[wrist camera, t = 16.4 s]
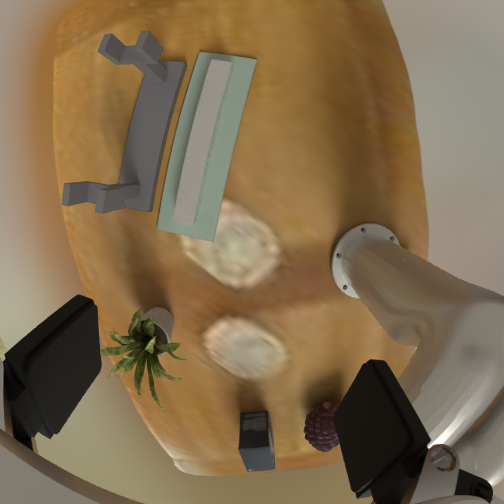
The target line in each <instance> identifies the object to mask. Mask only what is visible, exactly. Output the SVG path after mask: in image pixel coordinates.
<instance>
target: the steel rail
mask: <svg viewBox="0 0 504 504" xmlns="http://www.w3.org/2000/svg"><path fill="white" fill-rule="evenodd" d="M233 71H234V68H233V64H232V62H228V61H220V60H211V62H210V65H209V69H208V72H207V75H206V78H205V82H204V85H203V89H202V92H201V96H200V99H199V103H198V106H197V110H196V114H195V118H194V122H193V126H192V130H191V134H190V138H189V142H188V146H187V151H186V155H185V159H184V164H183V169H182V174H181V178H180V183H179V189H178V194H177V199H176V205H175V210H174V216H173V221H176V222H180V223H185V224H190V225H194V224H195V223H197V222H198V216H199V211H200V206H201V201H202V196H203V191H204V187H205V182H206V177H207V173H208V168H209V164H210V159H211V155H212V151H213V146H214V142H215V138H216V134H217V130H218V126H219V122H220V118H221V114H222V110H223V106H224V103H225V99H226V95H227V92H228V88H229V85H230V81H231V78H232V74H233Z"/></svg>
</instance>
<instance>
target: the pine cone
mask: <svg viewBox="0 0 504 504" xmlns="http://www.w3.org/2000/svg"><path fill="white" fill-rule="evenodd" d="M340 403H341V402H337V403H335V402H334V401H331V402H328V401H326V402H324V403H323V404H321V405H320V406H317V408H313V409H312V410H311V412H310V413H309V414H307V415H306V418H307V419H306V420H305V425H306V426H305V427H304V433H306V434H305V439H306V440H308V441H309V443H310V444H312V446H313V447H314V448H316V449H317V450H319V451H322V452H328V451H329V450H331V449H332V448H333V447H336V446H337V445H338V444H339V440H338V436H337V432H336V429H335V425H334V421H333V417H334V413H335V411H336V410H337V408H338V407H339V405H340Z"/></svg>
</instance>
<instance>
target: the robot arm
mask: <svg viewBox="0 0 504 504" xmlns="http://www.w3.org/2000/svg"><path fill="white" fill-rule="evenodd" d="M362 228H363V230H362V231H361V229H362ZM390 237H391V238H390ZM337 253H339V255H337ZM331 271H332V276H333V278H334V281H335V283H336V284H337V286H338V287H339V288H340V290H341V291H342V292H344V293H345V294H346V295H348V296H350V297H353V298H357V299H361V300H362V302H363V303H364V304H365V306H366V307H367V308H368V309H369V311H370V312H371V313H372V315H373V316H374V317H375V318H376V320H377V321H378V322H379V324H380V325H381V326H382V327H383V329H384V330H385V331H386V333H387V334H388V335H389V336H390V337H391V338H392V339H393V340H395V341H396V342H398V343H400V344H402V345H405V346H412V347H418V348H417V349H416V351H415V353H414V355H413V356H412V358H411V359H410V361H409V363H408V365H407V366H406V368H405V369H404V371H403V372H402V374H401V375H400V377H399V378H398V379H396V377H395V376H394V374H393V372H392V371H391V369H390V368H389V366H388V364H387V363H386V362H385V361H384V360H373V359H371V360H369V361H367V363H364V364H363V365H362V367H361V369H360V370H359V372H358V374H357V376H356V378H355V380H354V381H353V383H352V385H351V387H350V388H349V390H348V392H347V393H346V395H345V397H344V398H343V400H342V402H341V403H340V405H339V407H338V408H337V410H336V411H335V413H334V417H333V421H334V425H335V429H336V432H337V436H338V440H339V443H340V447H341V451H342V455H343V459H344V462H345V466H346V470H347V474H348V478H349V482H350V486H351V490H352V491H353V492H355V493H356V497H357V499H359V498H364V497H370V496H371V495H372V497H373V501H372V503H371V504H504V501H502V500H501V499H500V498H498V497H497V496H496V495H494V496H493V490H492V486H494V485H496V484H497V483H499V482H500V481H502V480H503V479H504V296H502V295H500V294H498V293H496V292H494V291H491V290H488V289H485V288H483V287H480V286H477V285H474V284H471V283H468V282H466V281H464V280H462V279H459V278H457V277H455V276H453V275H451V274H450V273H447V272H446V271H444V270H442V269H440V268H439V267H437V266H435V265H433V264H432V263H430V262H428V261H426V260H425V259H423V258H421V257H419V256H417V255H416V254H414V253H412V252H410V251H408V250H407V249H405V248H403V247H401V246H400V244H399V241H398V239H397V238H396V236H395V235H394V234H393V233H392V231H390V230H389V229H388V228H386V227H384V226H382V225H379V224H375V223H365V224H360V225H357V226H355V227H353V228H351V229H350V230H348V231H347V232H346V233H345V234H344V235H343V236H342V237H341V238H340V240H339V241H338V242H337V244H336V246H335V248H334V251H333V254H332V259H331ZM344 285H345V286H344ZM4 355H5V358H6V359H5V360H4V361H3V362H2V360H1V358H0V504H143V503H140V502H137V501H134V500H131V499H128V498H126V497H123V496H120V495H118V494H115V493H112V492H110V491H108V490H105V489H103V488H100V487H98V486H96V485H94V484H92V483H89V482H87V481H85V480H83V479H81V478H79V477H77V476H75V475H73V474H71V473H69V472H67V471H66V470H64V469H62V468H60V467H58V466H57V465H55V464H53V463H51V462H49V461H48V460H46V459H44V458H43V457H41V456H40V455H38V450H37V446H36V441H35V435H36V434H37V432H40V433H41V434H42V435H44V436H46V437H47V438H49V439H51V437H52V436H53V434H58V433H59V432H60V430H61V429H62V427H63V426H64V424H65V422H66V421H67V419H68V418H69V417H70V415H71V413H72V412H73V410H74V409H75V407H76V406H77V404H78V403H79V401H80V400H81V399H82V397H83V396H84V394H85V393H86V391H87V389H88V388H89V387H90V385H91V384H92V382H93V381H94V380H95V378H96V377H97V375H98V374H99V372H100V370H101V366H102V363H101V353H100V343H99V327H98V308H97V305H95V304H94V301H93V300H92V299H90V298H88V297H85V296H82V295H76V296H75V297H74V298H72V299H71V300H70V301H68V302H67V303H66V304H64V305H63V306H62V307H61V308H59V309H58V310H57V311H56V312H54V313H53V314H52V315H50V316H49V317H48V318H47V319H46V320H44V321H43V322H42V323H41V324H39V325H38V326H37V327H36V328H34V329H33V330H32V331H31V332H30V333H28V334H27V335H26V336H25V337H24V338H23V339H21V340H20V341H19V342H18V343H17V344H16V345H14V346H13V347H12V348H11V349H10V350H9V351H8V352H7V353H5V354H4Z"/></svg>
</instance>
